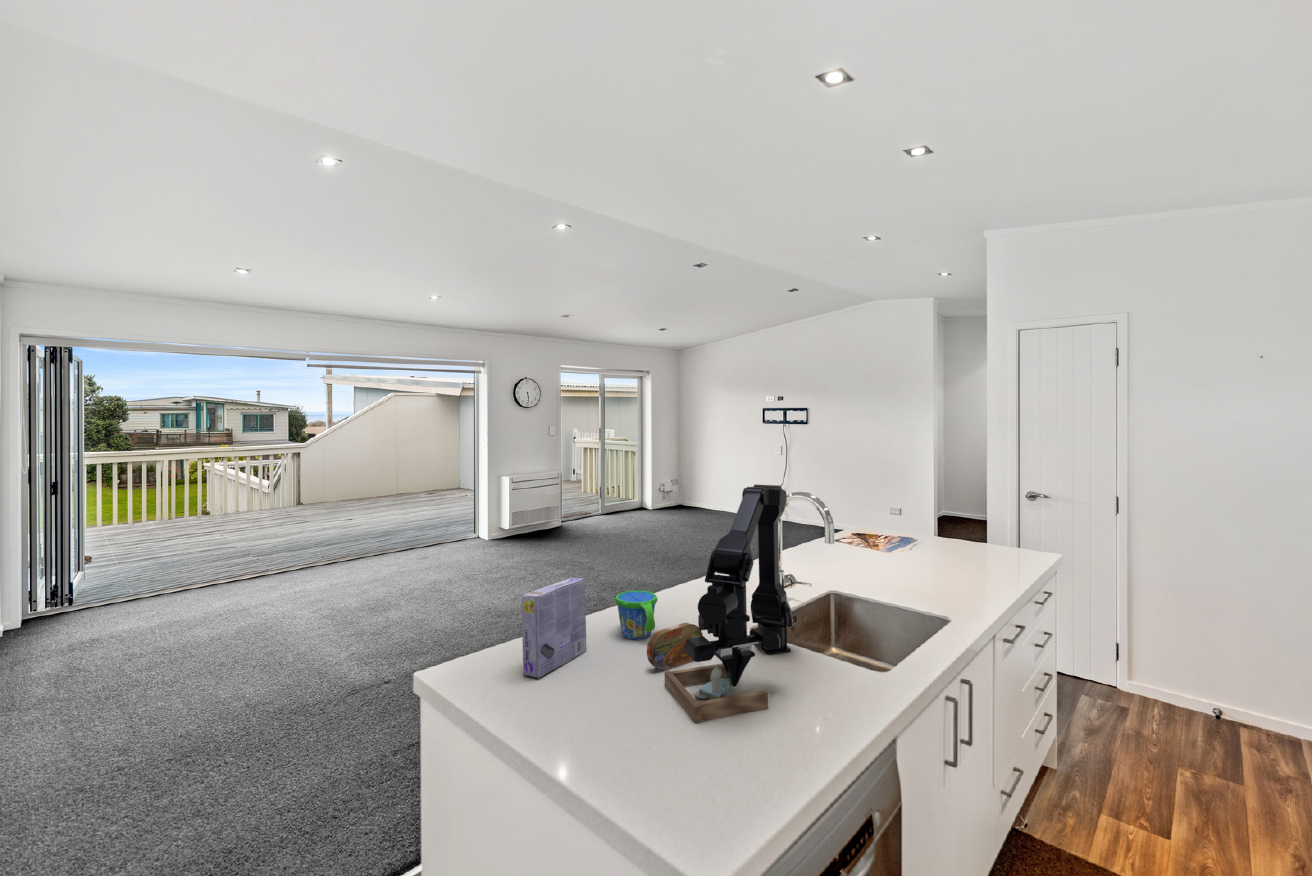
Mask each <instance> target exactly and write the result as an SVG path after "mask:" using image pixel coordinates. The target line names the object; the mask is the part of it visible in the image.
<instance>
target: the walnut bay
mask: <svg viewBox="0 0 1312 876" xmlns="http://www.w3.org/2000/svg"><path fill="white" fill-rule="evenodd" d="M717 665H719V666H720V667H721V670H722V674H721V677H720V678H725V679H727V680H729V679H728V676H727V673H726V671H725V668H724V665H723V663H722V662H721V663H715V664H711V665H701V666H696V667H691V668H684V669H677V670H672V671H671V670H665V671H664V673H663V674H664V688H666V690H667V691H668V692H669V693H670V695H671V696H672V697H673V699H675V701H676V702H677V703H678V705H679V706H680V707H681V708H682V710H684V712H685V713H686V714H687V716H689V718H690V719H691V720H692V722H693V723H694V724H698V723H701V722H703V721H709V720H715V719H719V718H726V717H732V716H737V715H740V714H741V715H743V714H745V713H746V714H747V713H751V712H757V711H763V710H767V709H769V692H768V691H767V690H766V689H764V690H759V691H753V692H747V693H742V694H735V695H729V696H724V697H719V698H717V699H708V700H703V701H697V699H695V697H694V696H693V695H692V694H691V693H690V692H689V691H688V690H687V688H686V687H687V686H693V685H694V686H695V685H700V684H707V683H708V682H710V681H711V680H710V677H711V673H712V671H713V669H714V667H715V666H717Z"/></svg>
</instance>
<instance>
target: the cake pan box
mask: <svg viewBox="0 0 1312 876" xmlns="http://www.w3.org/2000/svg"><path fill="white" fill-rule="evenodd" d="M586 614H587V613H586V579H585V577H584V578H578V577H569V578H567V579H564V580H560V581H559V582H555V583H552V584H549V585H547V586H544V587H541V588H539V589H535V590H533V591H530V592H529V591H528V592H526V593H524V594H521V626H522V627H521V630H522V633H521V635H522V636H521V637H522V638H521V639H522V670H523V671H522V675H525V676H527V677H531V678H534V679H541V678H543V676H545V675H547V674H548V673H550V672H553V671H554V670H555V669H557V668H558V669H559V668H561V667H562V666H564V665H566V664H567V663H569V662H570V661H571V660H573V659H575V658H576V657H578V656H581V655H582V654H584V653H586V652H587V621H586V619H587V618H586Z"/></svg>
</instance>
